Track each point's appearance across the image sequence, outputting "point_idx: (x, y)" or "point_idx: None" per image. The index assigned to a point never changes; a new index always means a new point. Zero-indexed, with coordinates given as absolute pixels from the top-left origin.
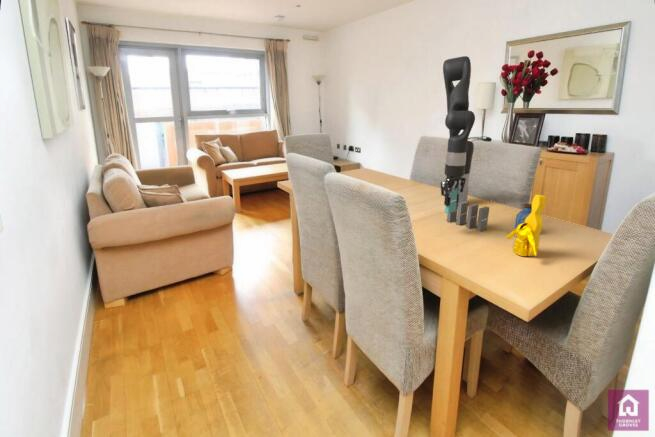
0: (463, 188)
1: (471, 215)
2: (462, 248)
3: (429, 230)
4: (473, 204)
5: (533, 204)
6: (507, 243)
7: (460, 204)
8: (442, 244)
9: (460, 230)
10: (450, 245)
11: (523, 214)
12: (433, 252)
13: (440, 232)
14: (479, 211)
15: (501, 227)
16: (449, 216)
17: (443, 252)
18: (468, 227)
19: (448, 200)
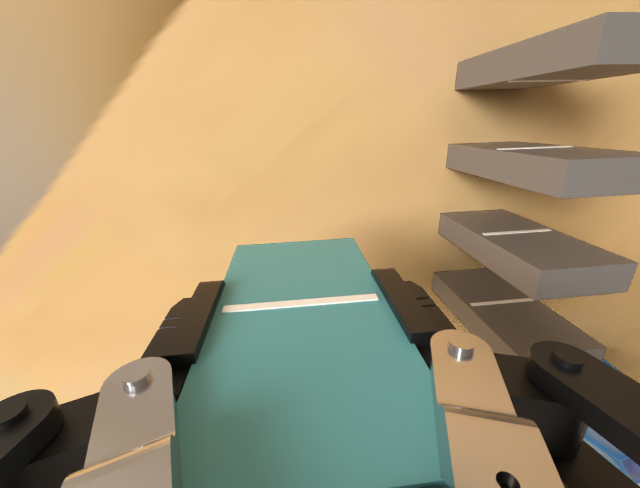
0: (608, 485)
1: (489, 264)
2: None
3: (217, 111)
4: (604, 268)
5: None
6: None
7: (555, 183)
8: (128, 301)
9: (376, 224)
10: (157, 326)
11: (615, 460)
12: (12, 341)
13: (253, 180)
14: (502, 345)
15: (559, 305)
16: (479, 77)
17: (63, 361)
18: (441, 229)
19: None
